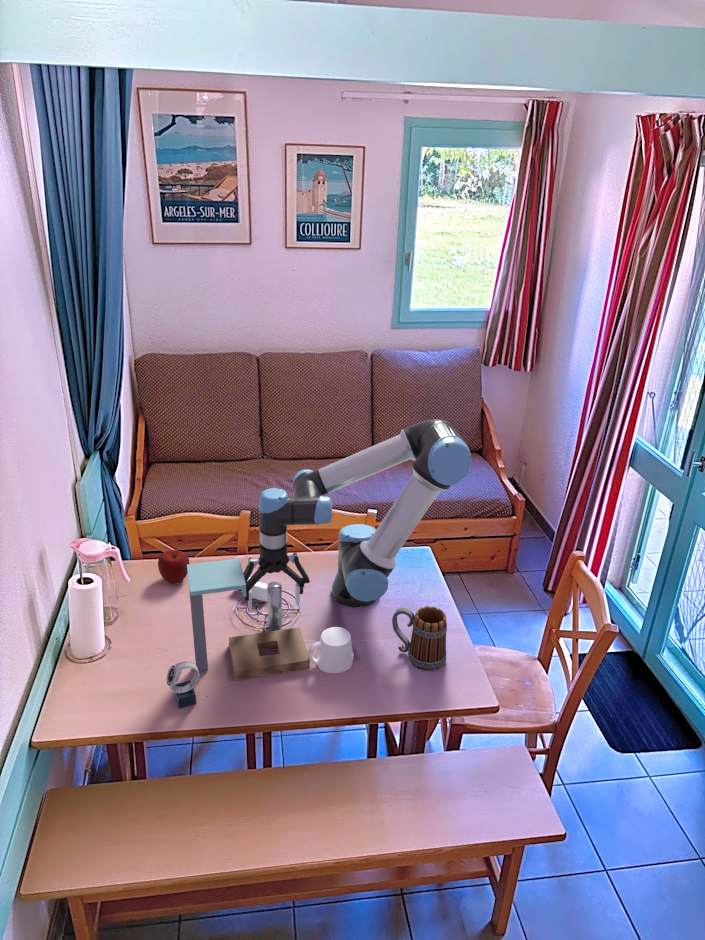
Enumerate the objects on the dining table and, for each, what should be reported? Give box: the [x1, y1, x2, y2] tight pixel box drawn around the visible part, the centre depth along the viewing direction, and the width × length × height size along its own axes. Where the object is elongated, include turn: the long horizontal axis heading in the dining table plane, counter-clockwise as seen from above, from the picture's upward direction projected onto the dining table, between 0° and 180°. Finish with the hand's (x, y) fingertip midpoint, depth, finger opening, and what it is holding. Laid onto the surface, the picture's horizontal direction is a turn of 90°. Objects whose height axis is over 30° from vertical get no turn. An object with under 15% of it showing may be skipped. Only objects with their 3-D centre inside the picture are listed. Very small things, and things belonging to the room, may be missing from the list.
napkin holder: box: [235, 576, 269, 603], centre depth 224 cm, size 15×11×6 cm
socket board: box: [228, 627, 311, 682], centre depth 198 cm, size 20×14×3 cm
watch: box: [166, 661, 201, 709], centre depth 181 cm, size 6×8×11 cm
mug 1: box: [308, 626, 354, 674], centre depth 195 cm, size 12×9×8 cm
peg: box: [267, 581, 283, 631], centre depth 208 cm, size 4×4×14 cm
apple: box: [157, 549, 190, 585], centre depth 227 cm, size 10×10×10 cm
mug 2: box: [391, 605, 448, 672], centre depth 197 cm, size 16×11×15 cm
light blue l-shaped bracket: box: [187, 558, 246, 673], centre depth 189 cm, size 14×12×29 cm
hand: (273, 605), depth 208 cm, fingers open, 13 cm apart
